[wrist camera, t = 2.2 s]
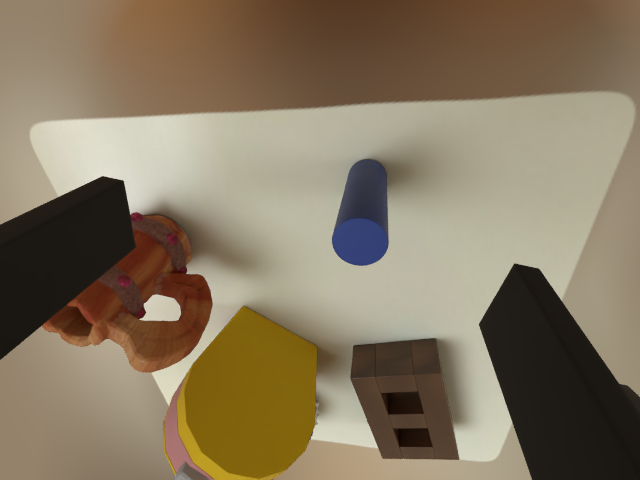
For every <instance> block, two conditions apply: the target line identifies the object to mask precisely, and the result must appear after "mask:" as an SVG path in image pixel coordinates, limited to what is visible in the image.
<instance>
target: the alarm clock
mask: <svg viewBox="0 0 640 480" xmlns="http://www.w3.org/2000/svg"><path fill="white" fill-rule="evenodd" d="M316 368H317V346H316V345H314V344H312V343H310V342H308V341H306V340H305V339H303V338H301V337H299V336H297V335H296V334H294V333H292V332H290V331H288V330H287V329H285V328H283V327H281V326H279V325H277V324H276V323H274V322H272V321H270V320H268V319H267V318H265V317H263V316H261V315H259V314H257V313H256V312H254V311H252V310H250V309H248V308H247V307H245V306H243V307H242V308H241V309H240V310H239V311H238V312H237V314H236V315H235V316H234V317H233V318H232V319H231V321H230V322H229V323H228V324H227V325H226V326H225V327H224V329H223V330H222V331H221V332H220V333H219V334H218V336H217V337H216V338H215V339H214V340H213V341H212V342H211V344H210V345H209V346H208V347H207V348H206V349H205V351H204V352H203V353H202V354H201V355H200V356H199V358H198V359H197V360H196V361H195V362H194V363H193V365H192V366H191V368H190V370H189V371H188V373H187V374H186V376H185V378H184V379H183V381H182V382H181V384H180V386H179V387H178V389H177V390H176V392H175V393H174V395H173V397H172V400H171V403H170V405H169V408H168V411H167V414H166V416H165V419H164V422H163V429H164V453H165V455H166V457H167V459H168V461H169V463H170V466H171V468H172V470H173V472H174V474H175V477H174V480H273V479H274V478H275V477H277V476H278V475H280V474H281V473H283V472H284V471H285V470H286V469H288V468H289V466H291V465H292V463H294V461H295V460H296V459H297V458H298V457H299V456H300V455H301V454H302V453H303V452H304V451H305V450H306V447H307V445H308V442H309V440H310V437H311V434H312V432H313V429H314V427H315V405H316Z"/></svg>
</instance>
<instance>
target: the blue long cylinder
mask: <svg viewBox="0 0 640 480" xmlns="http://www.w3.org/2000/svg"><path fill="white" fill-rule="evenodd" d="M332 244H333V248H334V250H335V252H336V253H337V255H338V256H339V257H340V258H341V259H342V260H344V261H346V262H348V263H350V264H353V265H359V266H363V265H369V264H372V263H375V262H377V261H378V260H380V259H381V258H382V257H383V256H384V254H385V253H386V251H387V248H388V207H387V175H386V171H385V169H384V167H383V166H382V165H381V164H380V163H378V162H377V161H374V160H370V159H365V160H361V161H359V162H357V163H355V164H354V165H353V166H352V168H351V169H350V172H349V175H348V179H347V182H346V186H345V190H344V194H343V198H342V202H341V206H340V209H339V213H338V217H337V221H336V225H335V229H334V232H333V237H332Z"/></svg>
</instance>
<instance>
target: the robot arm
mask: <svg viewBox="0 0 640 480" xmlns="http://www.w3.org/2000/svg"><path fill="white" fill-rule="evenodd" d="M135 248H136V244H135V238H134V233H133V228H132V222H131V217H130V212H129V206H128V201H127V196H126V190H125V185H124V181H123V180H118V179H113V178H109V177H104V176H102V177H100V178H98V179H96V180H94V181H92V182H89V183H87V184H85V185H83V186H81V187H79V188H77V189H75V190H73V191H70V192H68V193H66V194H64V195H62V196H60V197H58V198H56V199H54V200H51V201H49V202H47V203H45V204H43V205H41V206H39V207H37V208H35V209H33V210H30V211H28V212H26V213H24V214H22V215H20V216H18V217H16V218H14V219H11V220H9V221H7V222H5V223H3V224H1V225H0V360H1V359H2V358H3V357H4V356H6V355H7V354H8V353H9V352H10V351H11V350H13V349H14V348H15V347H16V346H18V345H19V344H20V343H21V342H22V341H24V340H25V339H26V338H27V337H28V336H30V335H31V334H32V333H33V332H35V330H37V329H38V328H39V327H41V326H42V325H43V324H44V323H45V322H47V321H48V320H49V319H50V318H51V317H53V316H54V315H55V314H56V313H57V312H59V311H60V310H61V309H62V308H64V307H65V306H66V305H67V304H68V303H70V302H71V301H72V300H73V299H74V298H76V297H77V296H78V295H79V294H80V293H82V292H83V291H84V290H85V289H86V288H88V287H89V286H90V285H91V284H93V283H94V282H95V281H96V280H97V279H99V278H100V277H101V276H102V275H103V274H105V273H106V272H107V271H108V270H109V269H111V268H112V267H113V266H114V265H115V264H117V263H118V262H119V261H120V260H122V259H123V258H124V257H125V256H126V255H128V254H129V253H130V252H131V251H132V250H134V249H135ZM479 326H480V329H481V332H482V335H483V338H484V341H485V344H486V347H487V349H488V352H489V355H490V358H491V361H492V364H493V367H494V370H495V373H496V376H497V379H498V381H499V384H500V387H501V390H502V393H503V396H504V399H505V402H506V405H507V408H508V411H509V414H510V416H511V419H512V422H513V425H514V428H515V431H516V434H517V437H518V439H519V443H520V445H521V448H522V451H523V454H524V457H525V460H526V463H527V466H528V469H529V472H530V475H531V477H532V480H640V397H639V396H638V395H637V394H636V393H635V392H634V391H633V390H632V389H631V388H630V387H628V386H626V385H621V384H619V383H618V382H617V380H616V379H615V377H614V376H613V374H612V373H611V371H610V370H609V369H608V367H607V366H606V364H605V363H604V362H603V360H602V358H601V357H600V356H599V354H598V353H597V351H596V350H595V348H594V347H593V346H592V344H591V343H590V341H589V340H588V338H587V337H586V336H585V334H584V333H583V331H582V330H581V328H580V327H579V325H578V324H577V323H576V321H575V320H574V318H573V317H572V315H571V314H570V312H569V311H568V310H567V308H566V307H565V305H564V304H563V302H562V301H561V300H560V298H559V297H558V295H557V294H556V292H555V291H554V289H553V288H552V287H551V285H550V284H549V282H548V281H547V279H546V278H545V277H544V275H543V274H542V272H541V271H540V269H538V268H533V267H528V266H524V265H519V264H514V265H513V267H512V269H511V270H510V272H509V274H508V275H507V277H506V279H505V280H504V282H503V284H502V286H501V287H500V289H499V291H498V292H497V294H496V296H495V298H494V299H493V301H492V303H491V304H490V306H489V308H488V310H487V311H486V313H485V315H484V316H483V318H482V320H481V322H480V323H479Z"/></svg>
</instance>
